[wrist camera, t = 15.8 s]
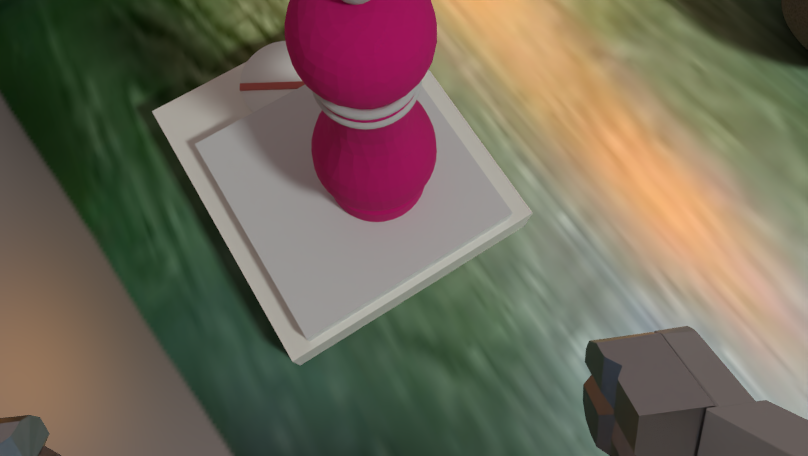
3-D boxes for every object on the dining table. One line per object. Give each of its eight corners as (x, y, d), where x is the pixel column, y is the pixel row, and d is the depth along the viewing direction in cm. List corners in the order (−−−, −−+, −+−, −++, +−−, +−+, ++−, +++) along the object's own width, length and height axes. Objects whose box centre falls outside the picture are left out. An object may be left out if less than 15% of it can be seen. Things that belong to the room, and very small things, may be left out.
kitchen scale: (524, 226, 43) (536, 207, 39) (300, 365, 40) (288, 360, 36) (374, 17, 48) (372, -19, 44) (166, 128, 45) (143, 100, 41)
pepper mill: (431, 233, 38) (459, 60, 19) (316, 227, 38) (230, 50, 19) (435, 128, 40) (465, -124, 21) (326, 123, 40) (257, -133, 21)
